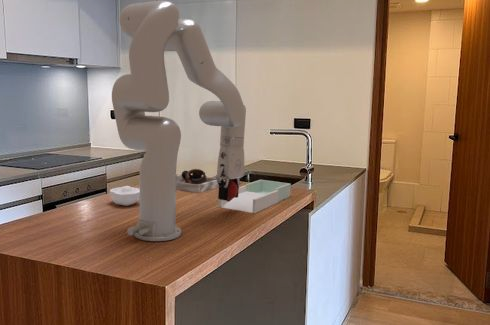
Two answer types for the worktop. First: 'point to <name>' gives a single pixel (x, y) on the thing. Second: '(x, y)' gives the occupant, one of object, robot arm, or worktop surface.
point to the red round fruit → (231, 190)
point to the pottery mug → (194, 176)
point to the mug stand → (195, 188)
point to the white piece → (250, 201)
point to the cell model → (125, 195)
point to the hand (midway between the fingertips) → (228, 197)
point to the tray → (270, 188)
